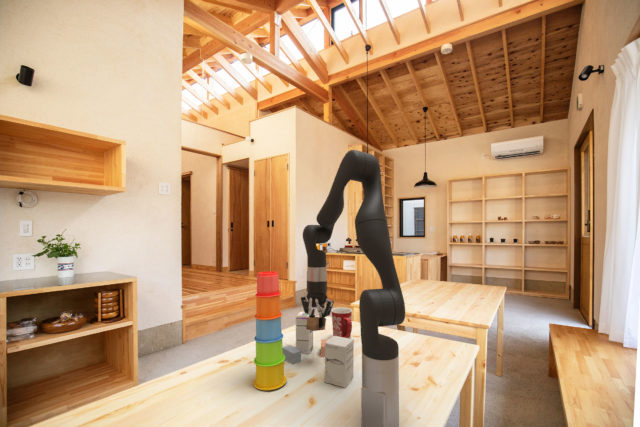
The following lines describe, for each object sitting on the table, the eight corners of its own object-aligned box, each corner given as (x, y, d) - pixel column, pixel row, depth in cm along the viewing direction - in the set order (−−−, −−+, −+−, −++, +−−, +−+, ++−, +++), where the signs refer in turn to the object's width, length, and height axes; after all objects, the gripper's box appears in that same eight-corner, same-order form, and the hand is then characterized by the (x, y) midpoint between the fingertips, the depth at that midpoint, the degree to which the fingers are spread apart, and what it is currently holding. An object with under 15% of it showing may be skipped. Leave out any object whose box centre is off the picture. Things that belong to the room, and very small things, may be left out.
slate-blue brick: (301, 361, 107) (301, 350, 107) (293, 364, 105) (293, 353, 105) (289, 355, 112) (289, 345, 112) (282, 358, 110) (282, 347, 110)
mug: (328, 339, 128) (328, 308, 128) (347, 336, 131) (347, 306, 131) (339, 351, 116) (339, 316, 116) (359, 348, 119) (359, 314, 119)
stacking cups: (254, 394, 86) (255, 275, 88) (252, 376, 96) (254, 270, 97) (289, 389, 89) (289, 274, 90) (284, 372, 99) (284, 269, 100)
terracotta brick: (329, 357, 111) (329, 346, 111) (320, 357, 111) (320, 346, 111) (329, 349, 118) (329, 339, 118) (321, 349, 118) (321, 339, 118)
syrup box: (310, 354, 113) (310, 316, 113) (295, 353, 114) (295, 315, 115) (313, 348, 118) (313, 312, 119) (299, 347, 120) (299, 311, 120)
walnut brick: (314, 331, 102) (315, 319, 103) (306, 329, 104) (307, 317, 105) (324, 329, 108) (326, 318, 109) (317, 327, 110) (318, 316, 111)
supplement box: (323, 382, 92) (323, 342, 93) (333, 372, 99) (333, 334, 100) (345, 389, 89) (345, 346, 90) (354, 377, 96) (354, 338, 96)
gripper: (295, 278, 109) (295, 325, 108) (327, 282, 101) (327, 333, 99) (307, 276, 115) (307, 320, 114) (338, 279, 107) (338, 327, 106)
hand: (316, 326), depth 107 cm, fingers closed on walnut brick, 3 cm apart
